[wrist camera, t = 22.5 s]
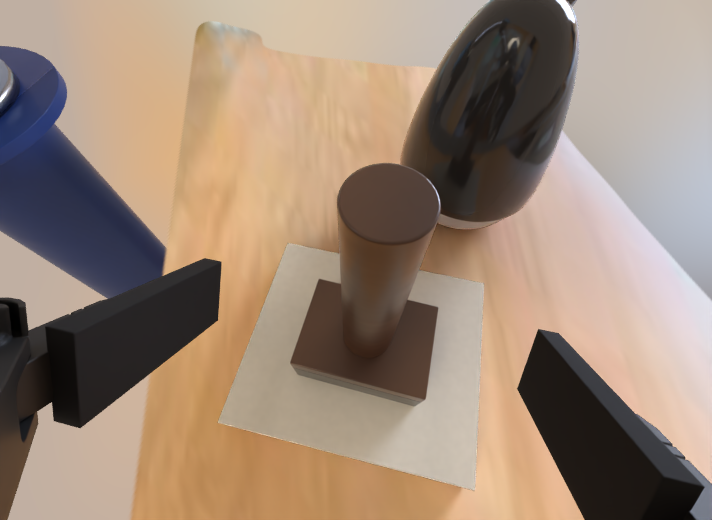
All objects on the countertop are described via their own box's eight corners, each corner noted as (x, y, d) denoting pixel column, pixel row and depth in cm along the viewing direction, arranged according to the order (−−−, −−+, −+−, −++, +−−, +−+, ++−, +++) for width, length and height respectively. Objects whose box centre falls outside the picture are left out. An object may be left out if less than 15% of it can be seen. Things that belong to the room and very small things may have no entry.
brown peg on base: (297, 374, 20) (213, 252, 8) (322, 298, 22) (289, 111, 10) (415, 406, 19) (535, 328, 7) (427, 324, 21) (533, 156, 9)
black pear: (537, 198, 29) (693, -10, 16) (467, 273, 25) (595, 81, 12) (444, 139, 33) (508, -72, 19) (370, 198, 29) (388, -15, 16)
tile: (228, 425, 20) (217, 422, 18) (291, 256, 26) (287, 242, 24) (463, 487, 19) (475, 491, 17) (474, 295, 25) (484, 283, 23)
